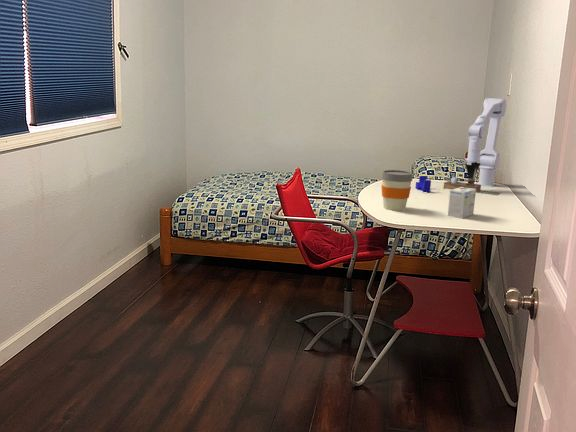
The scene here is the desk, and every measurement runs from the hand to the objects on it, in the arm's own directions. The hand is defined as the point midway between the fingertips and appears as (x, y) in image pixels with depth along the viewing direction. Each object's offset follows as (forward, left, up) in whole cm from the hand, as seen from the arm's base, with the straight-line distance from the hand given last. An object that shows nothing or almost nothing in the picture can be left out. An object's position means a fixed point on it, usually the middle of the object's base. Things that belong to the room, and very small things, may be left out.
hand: (471, 178), depth 316 cm
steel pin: (0, 0, -3) cm, 3 cm away
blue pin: (0, -8, -6) cm, 10 cm away
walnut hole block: (0, -4, -6) cm, 7 cm away
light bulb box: (+58, +12, -7) cm, 60 cm away
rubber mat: (0, +10, -6) cm, 12 cm away
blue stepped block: (+15, -19, -7) cm, 25 cm away
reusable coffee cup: (+64, -14, -6) cm, 66 cm away
